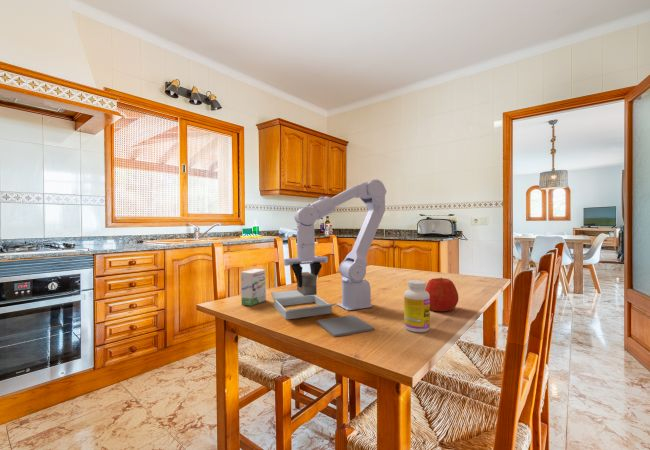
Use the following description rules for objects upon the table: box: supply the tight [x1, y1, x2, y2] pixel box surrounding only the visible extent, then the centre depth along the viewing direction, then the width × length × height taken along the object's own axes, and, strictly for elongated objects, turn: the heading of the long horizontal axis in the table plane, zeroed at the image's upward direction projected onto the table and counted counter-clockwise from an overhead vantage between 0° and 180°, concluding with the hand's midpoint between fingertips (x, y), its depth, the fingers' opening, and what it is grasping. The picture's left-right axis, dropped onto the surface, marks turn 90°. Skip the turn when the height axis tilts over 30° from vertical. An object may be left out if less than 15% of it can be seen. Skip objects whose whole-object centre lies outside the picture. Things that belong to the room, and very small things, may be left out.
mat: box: [316, 314, 375, 338], centre depth 85 cm, size 12×12×1 cm
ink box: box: [240, 268, 267, 307], centre depth 111 cm, size 8×5×12 cm, turn 154°
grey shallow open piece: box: [270, 289, 338, 321], centre depth 101 cm, size 15×23×4 cm, turn 23°
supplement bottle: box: [403, 279, 431, 333], centre depth 82 cm, size 7×7×13 cm
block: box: [296, 271, 318, 296], centre depth 99 cm, size 4×8×6 cm, turn 22°
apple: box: [425, 277, 459, 312], centre depth 100 cm, size 11×11×11 cm
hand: (306, 286), depth 99 cm, fingers closed on block, 4 cm apart
